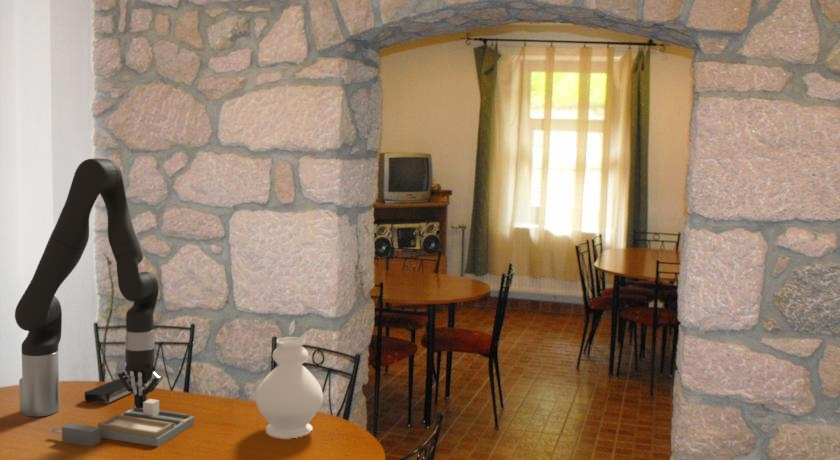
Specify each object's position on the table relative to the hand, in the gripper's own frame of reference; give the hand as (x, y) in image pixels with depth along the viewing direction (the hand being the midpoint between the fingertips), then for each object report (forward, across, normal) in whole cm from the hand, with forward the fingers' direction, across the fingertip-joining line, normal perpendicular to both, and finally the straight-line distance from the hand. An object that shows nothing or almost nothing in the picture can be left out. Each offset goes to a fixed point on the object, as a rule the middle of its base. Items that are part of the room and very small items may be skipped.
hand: (140, 407), depth 218 cm
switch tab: (+2, +3, 0) cm, 4 cm away
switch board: (+4, +5, -5) cm, 8 cm away
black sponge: (+4, -20, +14) cm, 25 cm away
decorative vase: (+4, +40, +8) cm, 42 cm away
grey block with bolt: (+4, -7, -17) cm, 19 cm away
